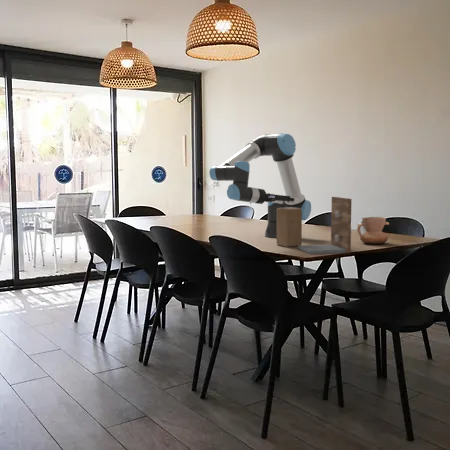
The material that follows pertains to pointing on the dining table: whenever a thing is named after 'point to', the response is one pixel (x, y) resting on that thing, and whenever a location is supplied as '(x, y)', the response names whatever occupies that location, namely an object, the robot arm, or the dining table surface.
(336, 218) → the cabinet side
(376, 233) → the ceramic jug
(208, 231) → the dining table surface
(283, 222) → the wooden block
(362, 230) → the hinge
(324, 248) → the plate
